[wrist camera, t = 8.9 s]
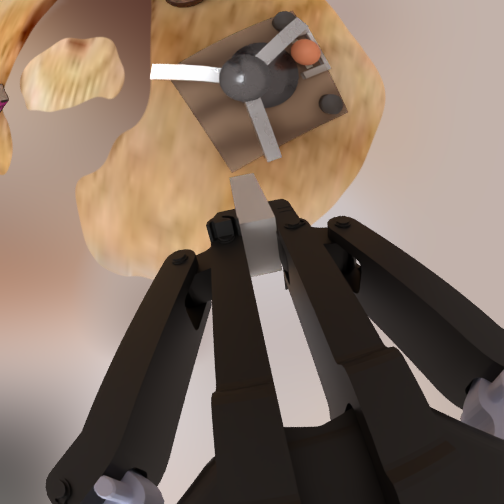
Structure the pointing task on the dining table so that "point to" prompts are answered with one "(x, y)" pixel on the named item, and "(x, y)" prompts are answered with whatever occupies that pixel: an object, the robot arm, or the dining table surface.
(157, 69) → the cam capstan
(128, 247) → the dining table surface
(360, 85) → the dining table surface
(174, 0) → the mug
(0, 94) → the candy bar box
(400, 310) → the robot arm
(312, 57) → the ball
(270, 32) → the walnut stand
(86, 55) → the dining table surface
